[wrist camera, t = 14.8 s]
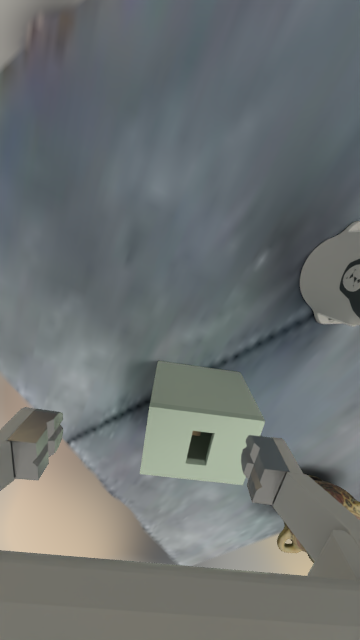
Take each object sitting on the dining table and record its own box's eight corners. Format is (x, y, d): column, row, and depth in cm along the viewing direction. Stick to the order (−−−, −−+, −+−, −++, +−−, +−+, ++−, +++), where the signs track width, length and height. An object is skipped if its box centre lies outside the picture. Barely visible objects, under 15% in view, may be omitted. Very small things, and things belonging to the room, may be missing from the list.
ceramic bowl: (267, 505, 64) (297, 583, 51) (249, 485, 55) (280, 574, 42) (348, 475, 60) (402, 551, 48) (343, 449, 51) (409, 534, 39)
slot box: (240, 372, 46) (265, 421, 33) (225, 423, 51) (242, 485, 37) (157, 360, 45) (149, 406, 32) (150, 413, 50) (139, 473, 36)
